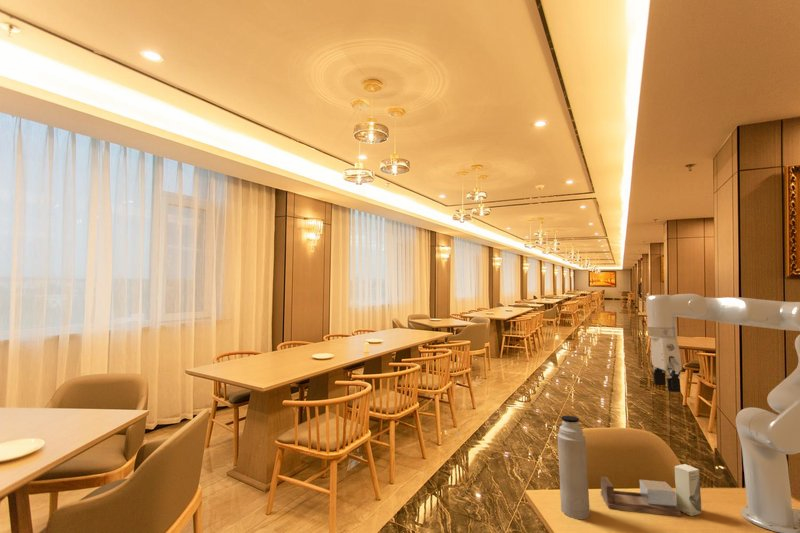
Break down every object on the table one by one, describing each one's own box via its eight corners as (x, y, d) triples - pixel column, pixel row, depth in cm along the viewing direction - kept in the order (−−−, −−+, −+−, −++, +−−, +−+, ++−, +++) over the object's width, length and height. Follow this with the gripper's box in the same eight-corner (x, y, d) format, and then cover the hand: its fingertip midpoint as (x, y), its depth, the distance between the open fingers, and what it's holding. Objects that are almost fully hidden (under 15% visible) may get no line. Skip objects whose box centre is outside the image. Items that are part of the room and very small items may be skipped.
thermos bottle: (585, 506, 117) (580, 414, 120) (593, 520, 109) (587, 421, 112) (558, 503, 118) (554, 412, 121) (564, 517, 110) (559, 420, 113)
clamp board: (667, 502, 119) (666, 481, 119) (680, 516, 111) (678, 494, 111) (600, 495, 123) (599, 475, 124) (608, 508, 115) (607, 487, 116)
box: (691, 517, 110) (688, 471, 111) (676, 509, 114) (673, 465, 116) (702, 513, 112) (699, 469, 113) (687, 505, 116) (684, 463, 117)
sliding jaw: (666, 498, 118) (665, 481, 119) (676, 509, 112) (675, 491, 112) (640, 495, 120) (639, 479, 120) (648, 506, 114) (647, 488, 114)
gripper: (690, 335, 110) (695, 395, 108) (663, 331, 126) (667, 383, 125) (661, 335, 111) (665, 393, 110) (638, 331, 128) (642, 382, 126)
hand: (666, 388), depth 117 cm, fingers open, 9 cm apart
